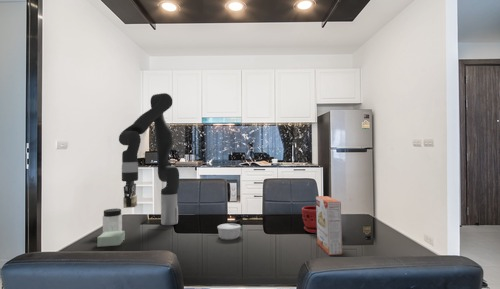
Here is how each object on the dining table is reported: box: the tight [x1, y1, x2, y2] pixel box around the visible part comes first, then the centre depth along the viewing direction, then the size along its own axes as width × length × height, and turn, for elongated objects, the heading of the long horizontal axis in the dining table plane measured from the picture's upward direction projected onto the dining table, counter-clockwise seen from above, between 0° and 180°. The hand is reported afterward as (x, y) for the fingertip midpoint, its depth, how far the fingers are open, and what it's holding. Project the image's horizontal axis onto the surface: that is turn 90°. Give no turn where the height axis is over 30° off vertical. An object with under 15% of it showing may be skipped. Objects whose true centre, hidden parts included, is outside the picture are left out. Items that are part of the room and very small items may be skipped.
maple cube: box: [122, 195, 138, 209], centre depth 139 cm, size 5×5×5 cm
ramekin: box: [216, 222, 242, 241], centre depth 136 cm, size 11×11×5 cm
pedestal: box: [96, 230, 126, 248], centre depth 129 cm, size 9×9×4 cm
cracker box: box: [315, 195, 343, 256], centre depth 117 cm, size 14×6×21 cm, turn 5°
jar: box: [102, 208, 123, 234], centre depth 145 cm, size 9×8×12 cm
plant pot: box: [301, 205, 317, 234], centre depth 144 cm, size 13×13×12 cm
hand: (130, 205), depth 139 cm, fingers closed on maple cube, 5 cm apart
